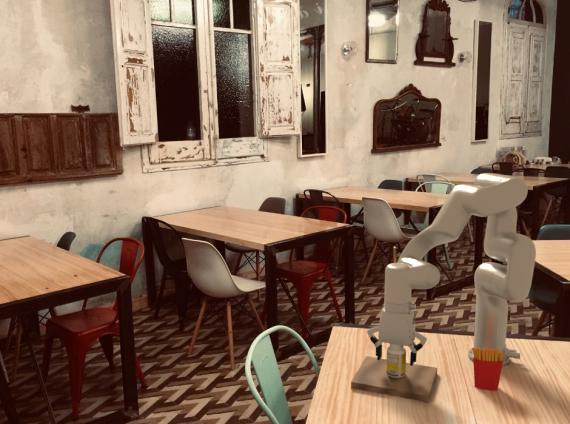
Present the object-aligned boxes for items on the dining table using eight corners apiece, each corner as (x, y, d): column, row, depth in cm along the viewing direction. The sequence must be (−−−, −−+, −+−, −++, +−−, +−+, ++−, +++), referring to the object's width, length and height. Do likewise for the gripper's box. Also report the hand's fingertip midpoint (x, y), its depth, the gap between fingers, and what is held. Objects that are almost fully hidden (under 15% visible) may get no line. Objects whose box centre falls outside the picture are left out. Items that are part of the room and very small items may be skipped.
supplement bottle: (402, 369, 168) (403, 337, 166) (407, 378, 163) (409, 345, 161) (383, 370, 167) (384, 338, 166) (389, 379, 162) (390, 346, 160)
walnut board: (437, 373, 169) (437, 367, 169) (428, 402, 153) (428, 395, 153) (366, 361, 178) (366, 356, 177) (350, 388, 161) (351, 381, 161)
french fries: (500, 386, 162) (503, 347, 160) (501, 392, 158) (503, 353, 156) (470, 381, 165) (472, 343, 162) (469, 387, 161) (472, 348, 159)
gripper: (429, 305, 161) (427, 360, 164) (371, 298, 168) (369, 351, 171) (425, 314, 154) (423, 371, 157) (364, 306, 161) (363, 361, 164)
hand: (395, 361), depth 164 cm, fingers open, 9 cm apart
